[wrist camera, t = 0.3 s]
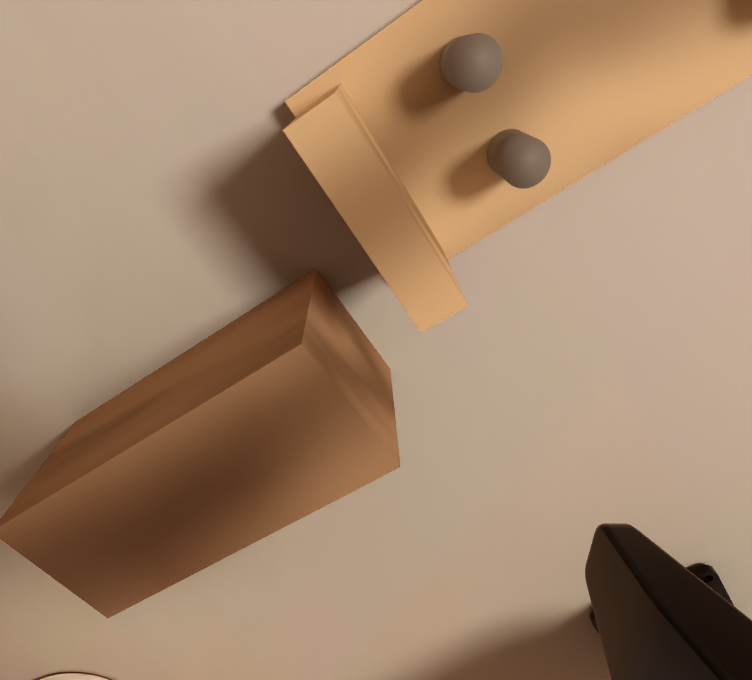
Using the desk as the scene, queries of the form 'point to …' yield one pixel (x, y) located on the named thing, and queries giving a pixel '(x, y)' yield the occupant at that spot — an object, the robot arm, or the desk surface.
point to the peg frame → (498, 117)
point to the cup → (74, 677)
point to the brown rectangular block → (211, 452)
